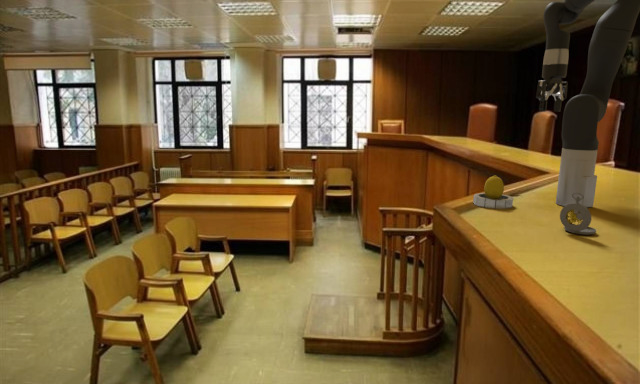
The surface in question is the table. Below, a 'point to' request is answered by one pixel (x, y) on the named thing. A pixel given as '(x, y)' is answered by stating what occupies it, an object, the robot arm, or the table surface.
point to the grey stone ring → (493, 201)
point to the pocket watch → (577, 217)
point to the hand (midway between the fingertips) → (549, 111)
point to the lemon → (494, 187)
